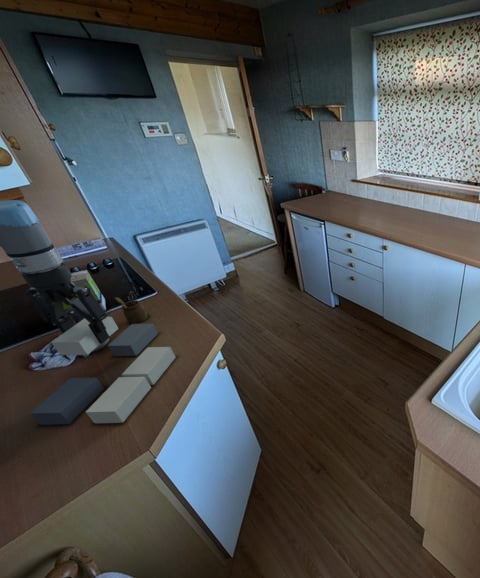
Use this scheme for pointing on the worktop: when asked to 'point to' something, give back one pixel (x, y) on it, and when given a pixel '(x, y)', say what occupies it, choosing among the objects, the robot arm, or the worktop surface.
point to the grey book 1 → (67, 401)
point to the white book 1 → (81, 338)
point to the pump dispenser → (75, 319)
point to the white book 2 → (119, 400)
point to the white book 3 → (151, 364)
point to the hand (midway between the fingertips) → (90, 340)
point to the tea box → (81, 281)
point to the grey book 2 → (132, 340)
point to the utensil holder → (133, 310)
